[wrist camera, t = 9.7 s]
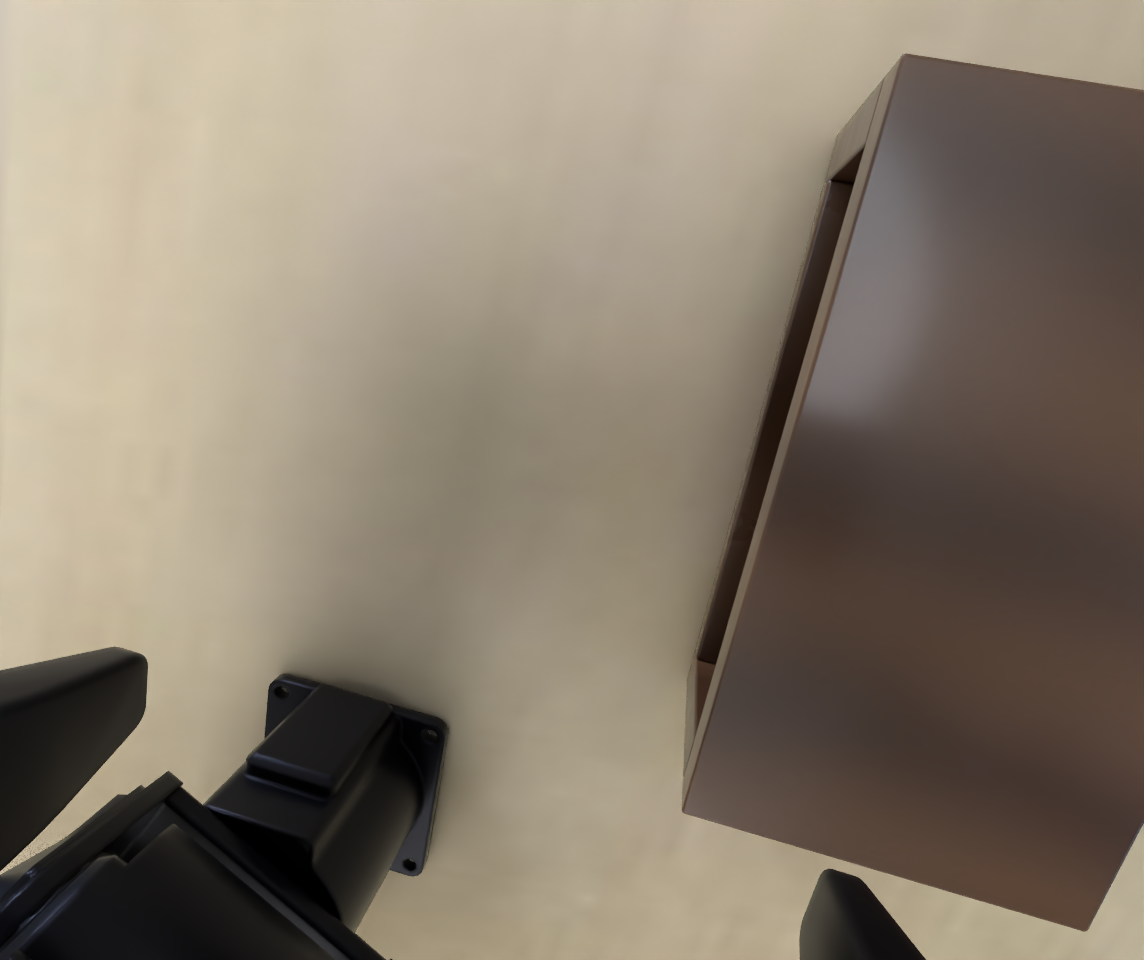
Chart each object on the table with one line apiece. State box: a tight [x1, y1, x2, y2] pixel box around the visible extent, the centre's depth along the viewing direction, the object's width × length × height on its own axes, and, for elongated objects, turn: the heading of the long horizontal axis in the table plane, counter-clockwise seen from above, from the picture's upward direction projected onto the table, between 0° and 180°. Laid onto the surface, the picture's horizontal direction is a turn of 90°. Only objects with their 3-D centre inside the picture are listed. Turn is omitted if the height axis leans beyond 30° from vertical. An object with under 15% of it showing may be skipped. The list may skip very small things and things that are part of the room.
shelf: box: [682, 54, 1144, 931], centre depth 16 cm, size 16×9×6 cm, turn 169°
